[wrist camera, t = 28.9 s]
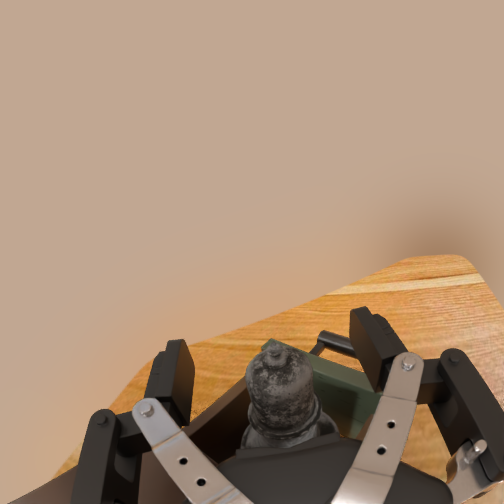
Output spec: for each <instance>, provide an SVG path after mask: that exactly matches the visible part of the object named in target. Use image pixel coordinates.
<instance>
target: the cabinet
mask: <svg viewBox="0 0 504 504" xmlns="http://www.w3.org/2000/svg"><path fill="white" fill-rule="evenodd" d="M195 446H196V445H195ZM196 447H197V446H196ZM197 448H198V447H197ZM198 449H199V448H198ZM199 450H200V449H199ZM200 451H201V452H202V453H203V455H204V456H205V457H206V458H207V459H208V460H209V461H210V462H211V463H212V464H213V465H214V466H215V467H216V466H217V465H218V463H217V462H215V461H214V460H213V459H211V458H210V457H209V456H208V455H206V454H205V453H204V452H203V451H202V450H200ZM77 467H78V465H77V466H75V467H73V468H72V469H70V470H68V471H67V472H65V473H63V474H62V475H60V476H58V477H57V478H55V479H53V480H51V481H50V482H48V483H46V484H44V485H43V486H41V487H39V488H37V489H35V490H33V491H32V492H30V493H28V494H26V495H24V496H22V497H20V498H18V499H16V500H14V501H12V502H10V503H8V504H70V501H71V495H72V490H73V485H74V480H75V476H76V471H77ZM186 498H187V497H186V496H185V495H184V493H183V492H182V491H181V490H180V488H179V487H178V486H177V485H176V483H175V482H174V481H173V479H172V478H171V477H170V475H169V474H168V473H167V471H166V470H165V468H164V467H163V466H162V464H161V463H160V461H159V460H158V459H157V457H156V456H155V454H154V453H153V451H150V452H146V453H143V454H142V463H141V473H140V484H139V496H138V504H182V502H183V501H184V500H185V499H186Z"/></svg>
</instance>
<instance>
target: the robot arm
mask: <svg viewBox="0 0 504 504" xmlns="http://www.w3.org/2000/svg"><path fill="white" fill-rule="evenodd" d="M349 337H350V342H351V345H352V347H353V349H354V351H355V353H356V355H357V357H358V359H359V361H360V363H361V366H362V368H363V370H364V372H365V374H366V376H367V378H368V380H369V382H370V384H371V386H372V388H373V390H374V393H375V394H376V393H379V392H383V394H382V396H381V398H380V401H379V403H378V406H377V409H376V411H375V414H374V416H373V419H372V421H371V424H370V426H369V429H368V431H367V433H366V436H365V438H364V440H363V441H362V440H358V439H354V438H345V437H342V438H340V437H339V433H338V432H334V433H330V434H326V435H322V436H318V437H313V438H311V439H309V440H306V441H304V442H302V443H300V444H297V445H295V446H292V447H290V448H273V447H254V448H245V449H236V456H234V457H231V458H229V459H227V460H225V461H223V462H221V463H220V464H218V465H217V466H216V467H215V466H214V465H213V464H212V463H211V462H210V461H209V460H208V459H207V458H206V457H205V456H204V455H203V453H202V452H201V451H200V450H199V449H198V448H197V447H196V446H195V444H194V443H193V442H192V441H191V440H190V439H189V437H188V436H187V435H186V434H185V433H184V432H183V430H181V428H182V426H189V425H190V414H191V404H192V395H193V386H194V377H195V366H194V362H193V359H192V357H191V354H190V352H189V350H188V347H187V345H186V342H185V340H184V339H178V340H169V341H168V343H167V347H166V350H165V351H162V352H159V354H158V355H157V356H156V357H155V359H154V361H153V365H152V369H151V372H150V376H149V379H148V383H147V387H146V391H145V395H144V398H143V399H142V400H140V401H138V402H137V403H136V404H135V405H134V407H133V409H132V411H129V412H126V413H122V414H118V415H115V414H114V413H113V412H112V411H111V410H109V409H101V410H99V411H97V412H95V413H94V414H93V415H92V416H91V418H90V421H89V424H88V428H87V431H86V435H85V439H84V442H83V446H82V450H81V454H80V458H79V462H78V467H77V471H76V476H75V480H74V485H73V490H72V495H71V501H70V504H138V496H139V484H140V473H141V463H142V454H143V453H146V452H150V451H153V453H154V454H155V456H156V457H157V459H158V460H159V461H160V463H161V464H162V466H163V467H164V468H165V470H166V471H167V473H168V474H169V475H170V477H171V478H172V479H173V481H174V482H175V483H176V485H177V486H178V487H179V488H180V490H181V491H182V492H183V493H184V495H185V496H186V497H187V498H186V499H185V500H184V501H183V502H182V504H462V503H464V502H466V501H468V500H469V499H471V498H479V497H481V496H483V495H485V494H486V493H487V492H489V491H490V490H492V489H493V488H494V487H496V486H497V485H499V484H500V483H501V482H503V481H504V412H503V410H502V408H501V407H500V405H499V403H498V402H497V400H496V398H495V397H494V395H493V394H492V392H491V391H490V389H489V387H488V386H487V384H486V383H485V381H484V380H483V378H482V377H481V375H480V374H479V373H478V371H477V370H476V368H475V367H474V365H473V364H472V362H471V361H470V360H469V358H468V357H467V355H466V354H465V353H464V352H463V351H461V350H459V349H455V348H451V349H447V350H445V351H444V352H443V353H442V354H441V356H440V358H438V359H427V360H424V359H422V358H421V357H420V356H419V355H417V354H415V353H412V352H408V350H407V349H406V347H405V346H404V344H403V343H402V341H401V340H400V339H399V337H398V336H397V334H396V333H395V332H394V330H393V329H392V327H391V326H390V324H389V323H388V321H387V320H386V319H385V318H384V317H382V316H380V315H379V314H374V315H372V314H371V312H370V311H369V309H368V308H367V307H366V306H364V307H360V308H356V309H352V310H351V311H350V329H349ZM419 404H428V407H429V409H430V411H431V413H432V415H433V417H434V419H435V421H436V423H437V425H438V428H439V430H440V432H441V434H442V436H443V439H444V441H445V443H446V445H447V448H448V450H449V452H450V455H451V458H450V459H449V461H448V463H447V466H446V472H447V481H446V483H445V482H443V481H442V480H440V479H438V478H436V477H433V476H431V475H429V474H427V473H425V472H423V471H420V470H418V469H416V468H414V467H412V466H410V465H408V464H406V463H404V462H402V461H400V459H401V456H402V453H403V450H404V447H405V444H406V441H407V438H408V434H409V431H410V428H411V424H412V421H413V417H414V414H415V410H416V406H417V405H419Z"/></svg>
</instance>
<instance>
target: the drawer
mask: <svg viewBox="0 0 504 504" xmlns="http://www.w3.org/2000/svg"><path fill="white" fill-rule="evenodd" d="M272 342H276V343H279V344H280V345H282V346H286V347H292V346H289V345H287V344H284V343H282V342H279V341H277V340H274V339H272V338H271V339H270V340H269V341H268V342H267V343H265V344H264V345H263V346H262V347H261V350H262V351H264V350H266V349H267V347H268V346H269V345H270V344H271V343H272ZM292 348H294V347H292ZM325 348H326V349H328V350H331V351H334V352H337V353H340V354H343V355H346V356H349V357H352V358H355V359H358V357H357V355H356V353H355V351H354V349H353V347H352V345H351V342H350V338H348V337H344V336H341V335H338V334H335V333H332V332H329V331H325V330H323V331H321V332H320V334H319V336H318V339H317V344H316V345H315V346H314V348H313V349H312V350H311V351H310V352H309V353H307V352H305V351H302V350H300V349H297V348H295V349H297V350H299V351H300V352H302V353H304V354H305V355H306V356H307V357H308V358H309V361H310V363H311V366H312V368H313V390H315V392H316V393H317V394H318V395H319V397H320V400H321V402H322V411H323V412H324V413H326V414H327V415H329V416H330V418H331V419H332V420H333V421H334V422H335V423H336V425H337V428H338V430H339V432H340V434H341V435H343V436H346V437H348V438H354V439H358V440H362V441H363V440H364V438H365V436H366V433H367V431H368V429H369V426H370V424H371V421H372V419H373V416H374V414H375V411H376V409H377V406H378V403H379V401H380V398H381V396H382V394H383V392H379V393H376V394H375V393H374V390H373V388H372V386H371V384H370V382H369V380H368V378H367V376H366V374H365V373H363V372H360V371H357V370H354V369H352V368H349V367H346V366H343V365H340V364H337V363H334V362H332V361H329V360H326V359H323V358H321V357H318V356H319V355H320V354H321V353H322V351H323V350H324V349H325ZM358 360H359V359H358ZM250 403H251V399H250V395H249V392H248V389H247V386H246V380H245V376H244V377H243V378H242V379H241V380H240V381H238V382H237V383H236V384H235V385H234V386H233V387H232V388H231V389H229V390H228V391H227V392H226V393H225V394H224V395H222V396H221V397H220V398H219V399H218V400H217V401H215V402H214V403H213V404H212V405H211V406H210V407H208V408H207V409H206V410H205V411H204V412H202V413H201V414H200V415H199V416H197V417H196V418H195V419H194V420H193V421H191V422H190V425H189V426H185V427H184V428H183V429H181V430H183V432H184V433H185V434H186V435H187V436H188V437H189V439H190V440H191V441H192V442H193V443H194V444H195V445H196V446H197V447H198V448H199V449H200V450H202V451H203V452H204V453H205V454H206V455H208V456H209V457H210V458H211V459H213V460H214V461H215V462H217V463H218V464H220V463H221V462H223V461H225V460H227V459H229V458H231V457H234V456H236V449H241V448H240V447H241V441H242V436H243V434H244V432H245V430H246V428H247V427H248V426H249V425H250V422H249V418H248V409H249V405H250Z"/></svg>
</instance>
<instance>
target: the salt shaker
mask: <svg viewBox="0 0 504 504" xmlns="http://www.w3.org/2000/svg"><path fill="white" fill-rule="evenodd" d="M245 380H246V386H247V389H248V392H249V395H250V399H251V403H250V405H249V409H248V418H249V422H250V425H249V426H248V427H247V428H246V430H245V432H244V434H243V436H242V441H241V447H240V448H241V449H245V448H254V447H273V448H290V447H292V446H295V445H297V444H300V443H302V442H304V441H306V440H309V439H311V438H313V437H318V436H322V435H326V434H330V433H334V432H338V433H339V437H340V432H339V430H338V428H337V425H336V423H335V422H334V421H333V420H332V419H331V418H330V416H329V415H327V414H326V413H324V412H323V411H322V402H321V400H320V397H319V395H318V394H317V393H316V392H315V390H313V368H312V366H311V363H310V361H309V358H308V357H307V356H306V355H305V354H304V353H302V352H300V351H299V350H297V349H295V348H292V347H286V346H282V345H280V344H279V343H276V342H272V343H271V344H270V345H269V346H268V347H267V349H266V350H264V351H262V352H260V353H259V354H257V355H256V356H255V357H254V358H253V359H252V360H251V362H250V363H249V365H248V367H247V369H246V374H245Z"/></svg>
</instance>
